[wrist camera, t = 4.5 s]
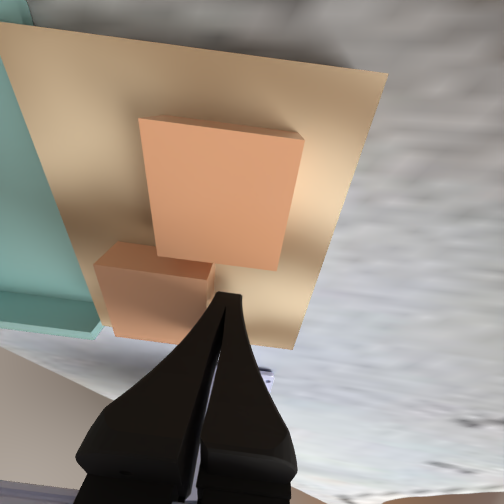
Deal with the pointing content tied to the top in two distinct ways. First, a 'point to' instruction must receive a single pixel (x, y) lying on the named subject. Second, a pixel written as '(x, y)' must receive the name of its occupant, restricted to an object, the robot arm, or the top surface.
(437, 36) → the top surface
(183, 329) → the tile
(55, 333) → the tray
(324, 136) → the board
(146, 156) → the tile
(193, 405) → the robot arm
